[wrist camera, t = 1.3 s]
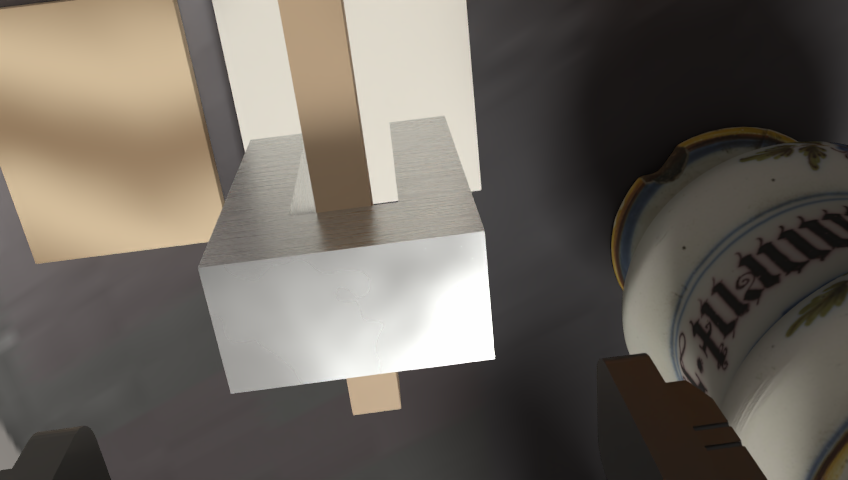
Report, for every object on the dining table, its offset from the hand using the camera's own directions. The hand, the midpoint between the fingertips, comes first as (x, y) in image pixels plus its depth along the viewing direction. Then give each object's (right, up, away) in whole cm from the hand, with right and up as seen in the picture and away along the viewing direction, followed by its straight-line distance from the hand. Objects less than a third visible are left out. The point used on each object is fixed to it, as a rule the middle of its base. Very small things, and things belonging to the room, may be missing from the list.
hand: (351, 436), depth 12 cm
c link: (-1, +5, +11) cm, 12 cm away
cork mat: (-11, +7, +18) cm, 23 cm away
